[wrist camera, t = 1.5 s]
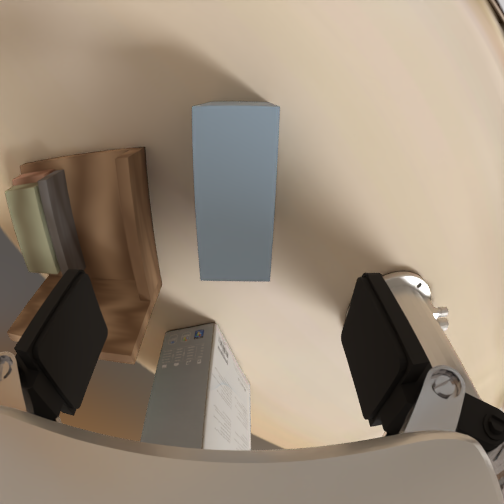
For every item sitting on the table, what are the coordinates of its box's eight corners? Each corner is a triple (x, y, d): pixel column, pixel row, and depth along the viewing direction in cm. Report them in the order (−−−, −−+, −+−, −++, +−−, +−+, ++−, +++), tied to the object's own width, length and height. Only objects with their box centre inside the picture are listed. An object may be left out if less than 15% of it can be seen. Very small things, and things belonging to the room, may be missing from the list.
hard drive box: (163, 330, 38) (131, 468, 21) (216, 319, 37) (202, 472, 20) (208, 391, 45) (199, 501, 28) (252, 384, 44) (254, 501, 27)
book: (268, 102, 24) (280, 106, 15) (263, 222, 30) (270, 281, 21) (211, 101, 24) (191, 106, 15) (213, 221, 30) (199, 280, 21)
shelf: (144, 146, 26) (83, 187, 15) (162, 284, 34) (134, 364, 23) (24, 163, 25) (-46, 205, 15) (55, 278, 33) (11, 340, 23)
